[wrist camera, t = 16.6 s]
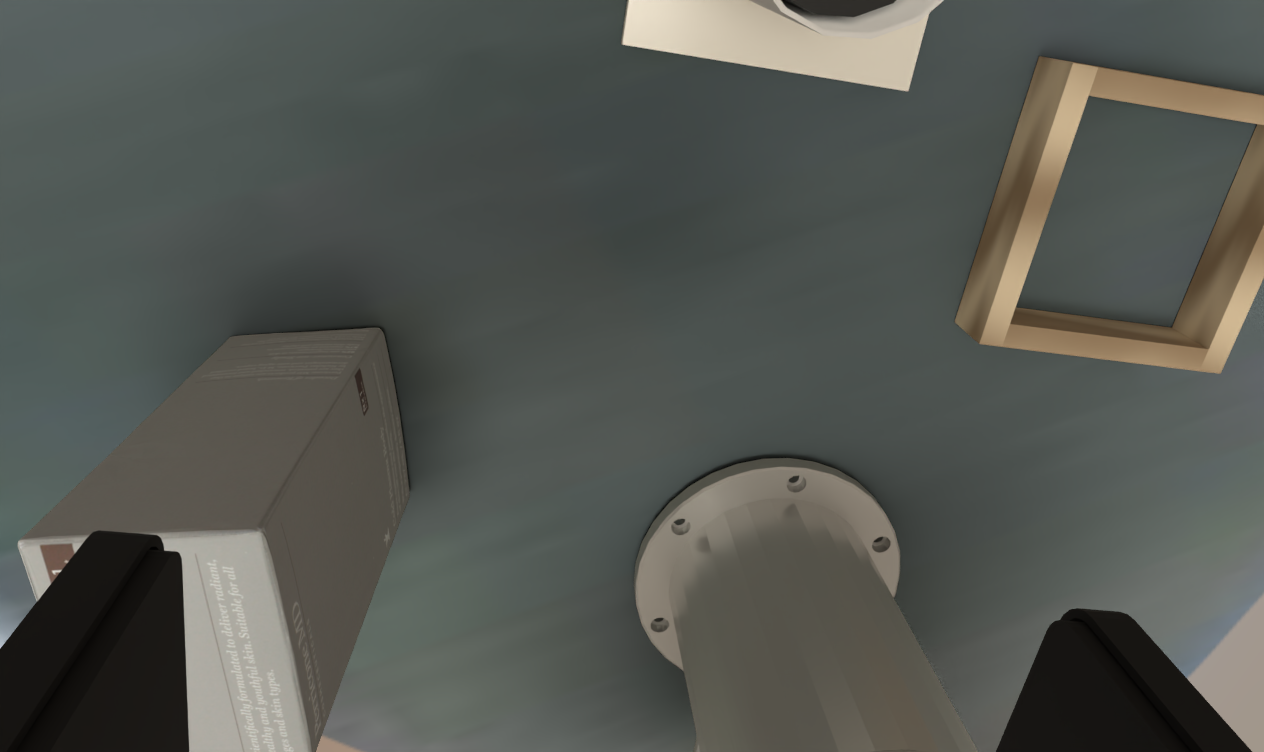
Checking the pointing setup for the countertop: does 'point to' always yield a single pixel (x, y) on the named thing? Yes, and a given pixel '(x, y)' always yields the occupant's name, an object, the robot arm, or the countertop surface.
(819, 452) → the countertop surface
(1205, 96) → the wooden frame
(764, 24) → the coaster
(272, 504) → the skincare box
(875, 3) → the drinking glass
